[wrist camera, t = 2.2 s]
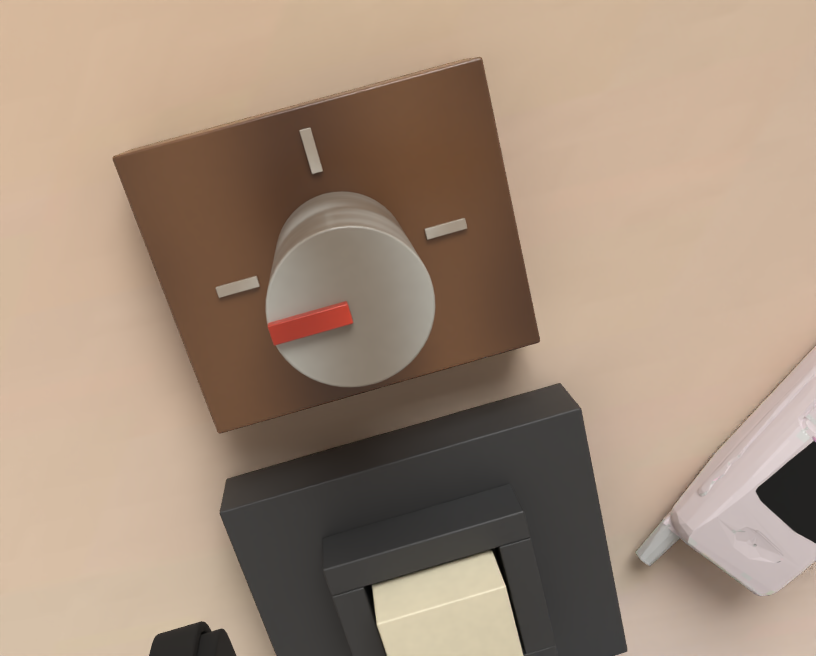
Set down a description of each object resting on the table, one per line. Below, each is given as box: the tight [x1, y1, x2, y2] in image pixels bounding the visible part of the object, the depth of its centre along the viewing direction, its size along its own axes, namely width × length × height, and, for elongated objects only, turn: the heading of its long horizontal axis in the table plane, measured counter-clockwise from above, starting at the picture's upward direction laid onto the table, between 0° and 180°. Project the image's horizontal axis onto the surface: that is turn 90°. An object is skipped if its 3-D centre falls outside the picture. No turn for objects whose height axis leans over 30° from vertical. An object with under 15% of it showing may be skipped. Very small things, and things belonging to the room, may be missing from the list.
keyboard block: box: [220, 383, 627, 656], centre depth 30 cm, size 14×12×4 cm
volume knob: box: [266, 191, 435, 387], centre depth 22 cm, size 4×4×6 cm
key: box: [372, 550, 523, 656], centre depth 27 cm, size 5×5×2 cm
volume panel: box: [113, 57, 540, 433], centre depth 26 cm, size 12×10×3 cm
